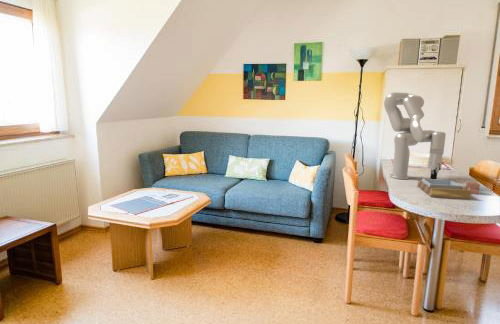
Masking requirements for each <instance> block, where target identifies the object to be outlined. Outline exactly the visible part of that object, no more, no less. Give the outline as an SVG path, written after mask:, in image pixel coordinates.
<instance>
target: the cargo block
mask: <svg viewBox="0 0 500 324" xmlns="http://www.w3.org/2000/svg"><path fill="white" fill-rule="evenodd" d="M480 186H481V184H480V183H478V182H476V181H466V182H465V188H464V189H466V190H471V194H470V195H479V193H480Z"/></svg>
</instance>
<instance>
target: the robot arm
mask: <svg viewBox="0 0 500 324" xmlns="http://www.w3.org/2000/svg"><path fill="white" fill-rule="evenodd" d="M383 103H384V104H383V106H384V109H385V111H386V113H387V116H388V119H389V122H390V125H391V128H392V130H393V131H394V132H398V133H397V134H396V135H395V136H394V138H393V140H394V155H393V166H392V173H390V175H389V177H390V178H393V179H397V180H408V179H410V175H408V171H409V163H410V162H409V161H410V154H411V153H410V152H411V151H410V148H409V147H411V146H416V145H418V144H419V143H430V147H429V156H428V161H427V162H428V163H427V168H428V169H430V176H429V177H430V178H429V179H438V174H439V172H440V171H441V170H442V167H443V166H442V164H443V155H444V151H445V145H446V144H445V143H446V132H444V131H435V130H431V129H428V130H426V129H425V130H424V129H423V128H422V127H421V122H420V121H421V120H422V119H423V117H424V116H425V113H424V111H423V109H422V108H423V107H424V105H425V100H424V98H423V97H422V96H419V95H416V94H413V93H407V92H391V93H389V94H387V95H386V97H385V98H384V102H383ZM398 106H403V107H404V109H405V111H406V114H407V115H408V117H404V116H403V113H402V111H401V109H400V108H399V107H398Z"/></svg>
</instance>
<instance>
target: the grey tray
mask: <svg viewBox="0 0 500 324" xmlns="http://www.w3.org/2000/svg"><path fill="white" fill-rule="evenodd" d="M421 181H422V182H423V183H425V184H426V185H427V186H429V187H430V188H440V189H459V190H461V187H462V185H461V184H459V183H457V182H456V181H453V180H452V179H438V178H437V179H430V178H421Z"/></svg>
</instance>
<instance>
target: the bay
mask: <svg viewBox="0 0 500 324" xmlns="http://www.w3.org/2000/svg"><path fill="white" fill-rule="evenodd" d="M416 187H418V188H419V189H420V190H421V191H422V192H423V193H425V195H428V196H429V197H430V198H440V199H442V198H443V199H457V200H458V199H459V200H460V199H461V200H470V199H471V195H472V194H471V190H466V189H465V188H464V187H462V186H461V190H459V189H440V188H430V187H429V186H427V185H426V184H425V183H423V182H422V180H418V181H417V186H416Z"/></svg>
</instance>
